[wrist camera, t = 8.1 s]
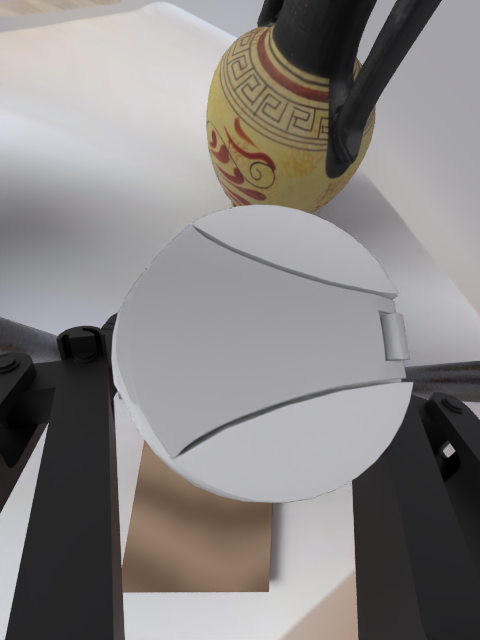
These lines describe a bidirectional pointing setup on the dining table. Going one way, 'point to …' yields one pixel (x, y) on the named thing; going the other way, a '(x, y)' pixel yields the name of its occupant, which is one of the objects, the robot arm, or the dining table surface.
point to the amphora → (303, 98)
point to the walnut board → (193, 537)
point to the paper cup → (263, 355)
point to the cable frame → (452, 378)
